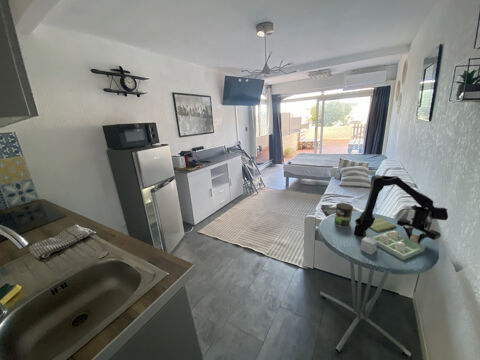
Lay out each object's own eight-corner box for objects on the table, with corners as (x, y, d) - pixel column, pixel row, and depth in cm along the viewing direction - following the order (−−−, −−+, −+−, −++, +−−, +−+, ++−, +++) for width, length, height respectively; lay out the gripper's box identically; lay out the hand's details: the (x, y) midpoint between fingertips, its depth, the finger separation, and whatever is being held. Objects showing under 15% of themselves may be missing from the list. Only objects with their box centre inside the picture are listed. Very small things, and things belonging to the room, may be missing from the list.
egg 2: (394, 243, 116) (396, 233, 115) (386, 239, 120) (388, 230, 119) (399, 241, 118) (401, 232, 116) (391, 237, 122) (393, 228, 120)
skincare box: (371, 256, 108) (373, 244, 105) (359, 250, 112) (361, 239, 110) (376, 251, 111) (378, 240, 109) (364, 246, 116) (366, 235, 114)
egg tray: (402, 261, 103) (404, 255, 102) (369, 242, 119) (370, 237, 118) (423, 252, 109) (425, 247, 108) (389, 235, 125) (390, 231, 124)
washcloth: (360, 225, 139) (361, 221, 138) (379, 220, 144) (380, 216, 144) (378, 234, 127) (379, 230, 127) (397, 229, 133) (398, 225, 132)
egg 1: (384, 246, 114) (386, 237, 112) (377, 242, 117) (378, 233, 116) (389, 244, 115) (391, 235, 113) (382, 240, 119) (384, 231, 117)
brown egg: (415, 246, 114) (418, 237, 112) (407, 242, 118) (409, 233, 116) (420, 244, 116) (422, 235, 114) (411, 240, 120) (413, 231, 118)
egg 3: (401, 255, 106) (403, 245, 104) (392, 251, 110) (394, 241, 108) (406, 253, 107) (408, 243, 106) (397, 248, 111) (399, 239, 110)
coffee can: (343, 229, 134) (345, 210, 130) (331, 222, 143) (333, 204, 139) (353, 225, 138) (356, 207, 134) (341, 219, 147) (343, 201, 143)
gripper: (449, 221, 106) (442, 246, 111) (410, 208, 123) (405, 230, 128) (437, 226, 103) (430, 251, 107) (398, 211, 119) (393, 234, 124)
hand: (414, 241), depth 116 cm, fingers closed on brown egg, 4 cm apart
